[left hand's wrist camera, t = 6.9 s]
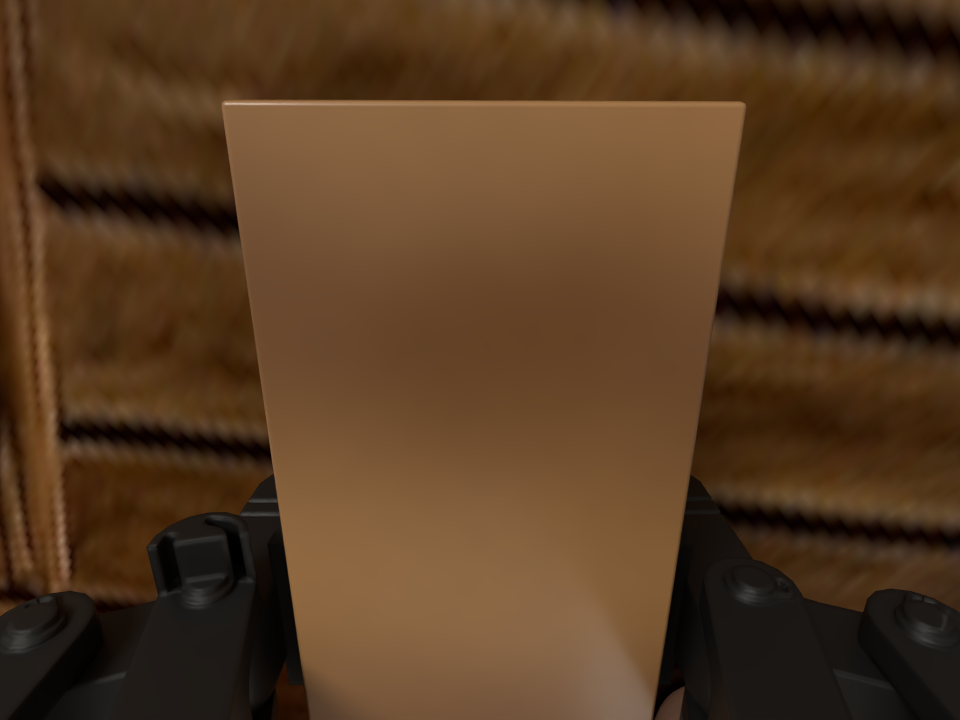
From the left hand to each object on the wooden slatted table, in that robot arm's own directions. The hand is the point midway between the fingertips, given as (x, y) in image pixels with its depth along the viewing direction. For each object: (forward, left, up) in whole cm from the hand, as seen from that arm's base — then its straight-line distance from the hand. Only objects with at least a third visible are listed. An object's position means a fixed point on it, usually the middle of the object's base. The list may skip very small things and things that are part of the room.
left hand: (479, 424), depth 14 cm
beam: (-2, +24, -1) cm, 24 cm away
